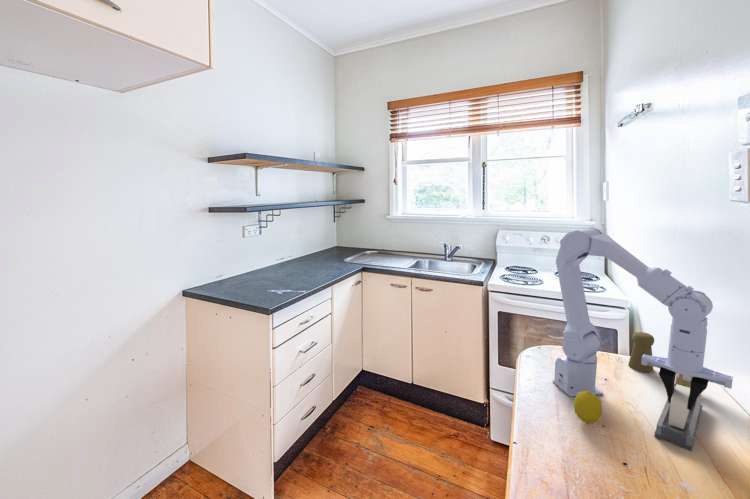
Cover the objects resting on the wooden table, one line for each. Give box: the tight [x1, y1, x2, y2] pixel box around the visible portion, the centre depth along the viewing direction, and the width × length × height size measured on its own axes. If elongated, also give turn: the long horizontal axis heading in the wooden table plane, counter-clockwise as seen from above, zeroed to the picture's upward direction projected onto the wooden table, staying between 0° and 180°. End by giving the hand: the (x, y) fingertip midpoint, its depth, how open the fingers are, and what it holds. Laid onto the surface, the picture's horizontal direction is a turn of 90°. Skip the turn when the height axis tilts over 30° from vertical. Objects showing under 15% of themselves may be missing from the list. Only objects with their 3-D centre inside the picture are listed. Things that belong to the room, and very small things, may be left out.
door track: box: [653, 388, 703, 452], centre depth 77 cm, size 20×6×3 cm, turn 131°
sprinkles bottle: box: [674, 373, 692, 388], centre depth 89 cm, size 5×5×13 cm
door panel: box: [668, 384, 690, 429], centre depth 74 cm, size 8×2×6 cm, turn 131°
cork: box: [627, 331, 655, 374], centre depth 101 cm, size 6×6×11 cm
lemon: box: [573, 391, 603, 424], centre depth 77 cm, size 6×6×8 cm
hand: (680, 404), depth 74 cm, fingers closed on door panel, 2 cm apart
